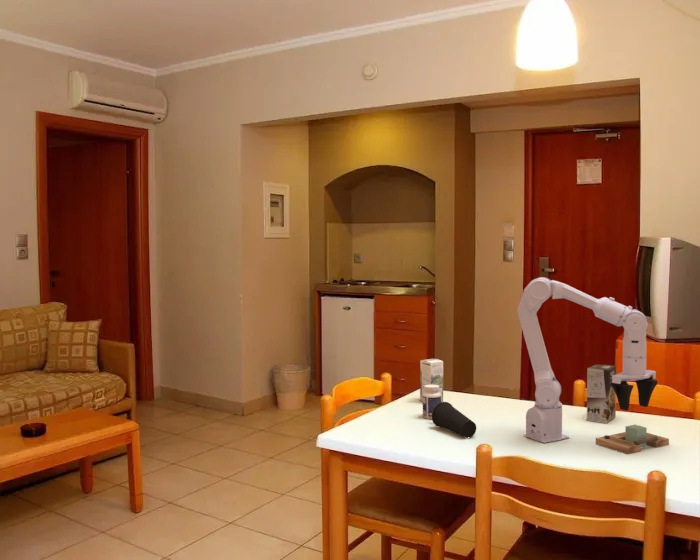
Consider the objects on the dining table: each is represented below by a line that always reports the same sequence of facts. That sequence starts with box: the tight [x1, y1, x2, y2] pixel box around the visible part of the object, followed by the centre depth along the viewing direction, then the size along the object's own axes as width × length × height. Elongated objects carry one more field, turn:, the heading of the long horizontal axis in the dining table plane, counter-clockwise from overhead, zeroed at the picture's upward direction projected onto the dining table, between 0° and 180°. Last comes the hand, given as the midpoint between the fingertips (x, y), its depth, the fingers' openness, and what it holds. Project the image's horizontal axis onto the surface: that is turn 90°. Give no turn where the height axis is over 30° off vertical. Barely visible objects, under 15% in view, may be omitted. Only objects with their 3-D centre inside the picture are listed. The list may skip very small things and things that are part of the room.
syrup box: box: [419, 358, 444, 403], centre depth 222 cm, size 6×6×14 cm
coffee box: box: [586, 363, 617, 424], centre depth 197 cm, size 9×6×16 cm
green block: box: [624, 424, 648, 448], centre depth 170 cm, size 4×4×5 cm
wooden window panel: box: [595, 431, 670, 455], centre depth 171 cm, size 16×10×3 cm, turn 118°
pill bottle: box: [422, 385, 441, 420], centre depth 201 cm, size 6×6×10 cm
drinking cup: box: [431, 401, 477, 439], centre depth 187 cm, size 8×8×20 cm
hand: (634, 407), depth 170 cm, fingers open, 7 cm apart
